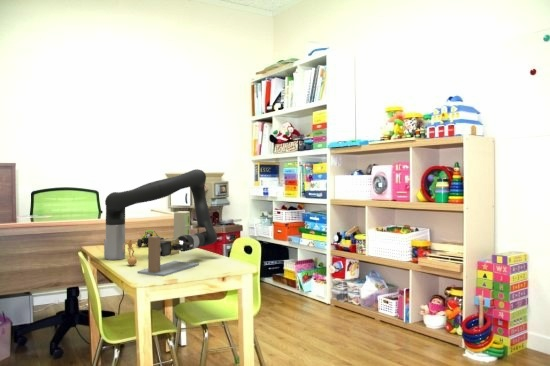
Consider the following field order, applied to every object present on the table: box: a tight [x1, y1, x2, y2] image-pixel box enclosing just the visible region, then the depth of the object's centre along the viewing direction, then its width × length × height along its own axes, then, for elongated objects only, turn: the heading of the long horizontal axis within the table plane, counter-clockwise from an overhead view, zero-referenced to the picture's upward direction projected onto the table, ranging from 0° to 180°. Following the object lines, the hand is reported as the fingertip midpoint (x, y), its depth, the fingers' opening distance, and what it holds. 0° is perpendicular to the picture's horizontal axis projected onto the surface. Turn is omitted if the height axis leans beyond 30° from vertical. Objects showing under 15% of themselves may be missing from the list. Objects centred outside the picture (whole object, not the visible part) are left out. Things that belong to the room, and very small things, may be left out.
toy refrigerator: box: [173, 210, 191, 239], centre depth 264 cm, size 8×7×21 cm
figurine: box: [122, 239, 140, 267], centre depth 215 cm, size 8×6×12 cm
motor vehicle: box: [136, 230, 165, 248], centre depth 273 cm, size 12×19×11 cm, turn 0°
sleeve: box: [160, 238, 180, 256], centre depth 208 cm, size 6×6×6 cm
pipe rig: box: [137, 235, 200, 277], centre depth 208 cm, size 14×26×16 cm, turn 156°
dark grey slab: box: [160, 241, 171, 257], centre depth 202 cm, size 6×4×6 cm
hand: (166, 247), depth 206 cm, fingers open, 8 cm apart
